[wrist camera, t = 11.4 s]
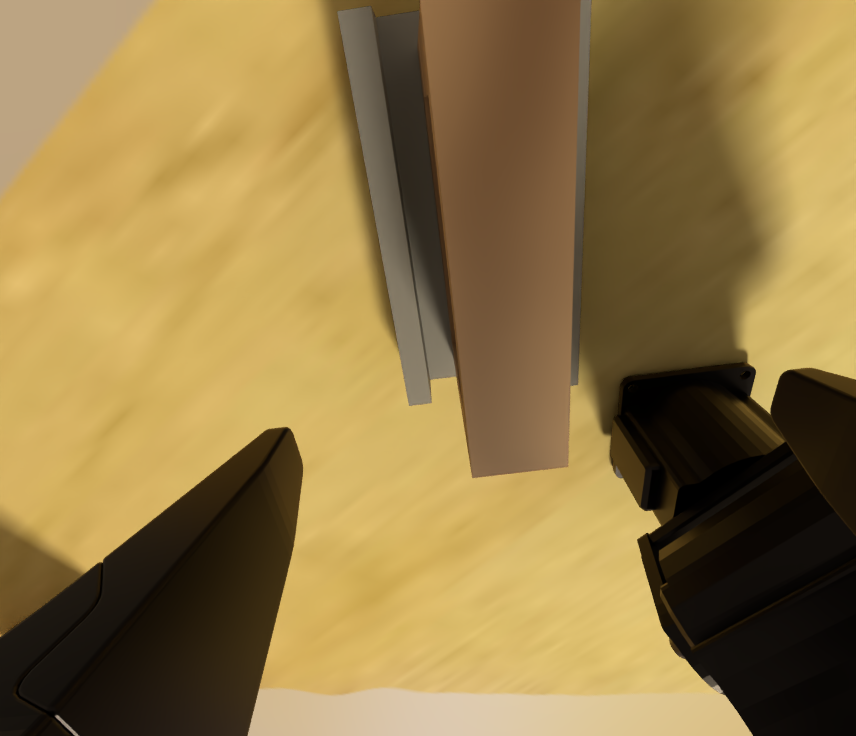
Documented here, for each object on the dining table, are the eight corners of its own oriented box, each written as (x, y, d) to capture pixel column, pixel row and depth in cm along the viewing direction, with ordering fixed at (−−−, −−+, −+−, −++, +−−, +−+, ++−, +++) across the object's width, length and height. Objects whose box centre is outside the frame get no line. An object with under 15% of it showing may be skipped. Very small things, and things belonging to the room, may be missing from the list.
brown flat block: (506, 33, 15) (581, -26, 9) (517, 349, 21) (568, 467, 14) (417, 47, 16) (419, -1, 9) (453, 357, 22) (472, 478, 15)
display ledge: (563, -7, 16) (592, -30, 13) (559, 352, 23) (578, 385, 20) (349, 26, 16) (337, 11, 13) (409, 371, 23) (409, 405, 20)
